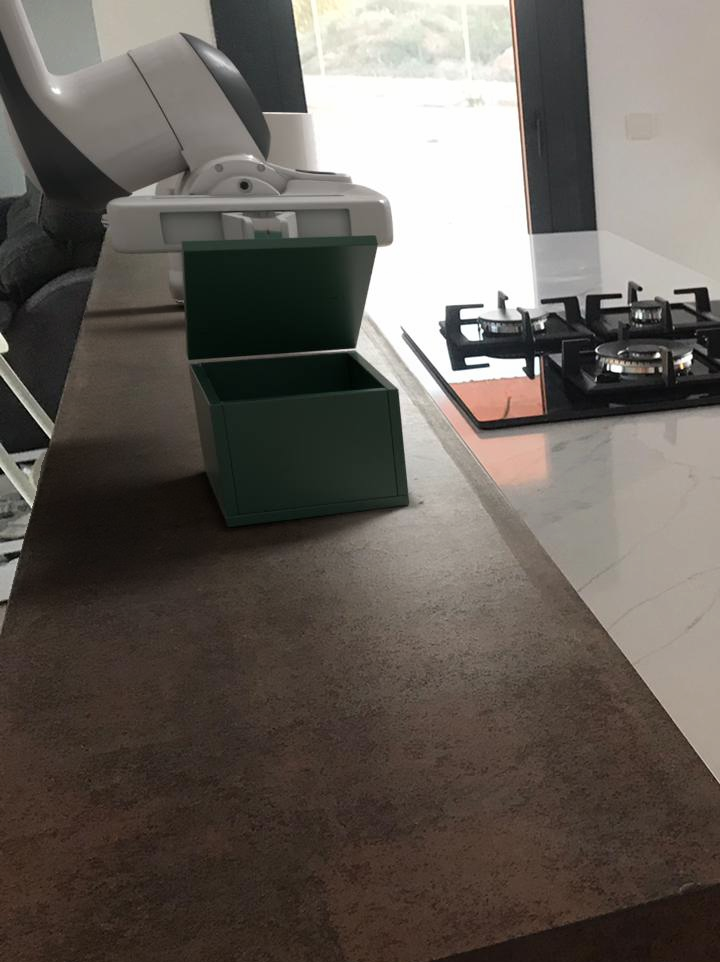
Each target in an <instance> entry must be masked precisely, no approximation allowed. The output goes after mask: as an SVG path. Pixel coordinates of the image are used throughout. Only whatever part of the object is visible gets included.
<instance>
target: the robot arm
mask: <svg viewBox="0 0 720 962" xmlns="http://www.w3.org/2000/svg"><path fill="white" fill-rule="evenodd" d="M26 13H27V12H26V11H25V8H24V5H23V2H22V0H0V101H1V105H2V111H3V114H4V119H5V123H6V128H7V132H8V138H9V140H10V144H11V147H12V149H13V152H14V154H15V157H16V159H17V160H18V163H19V165H20V166H21V168H22V170H23V172H24V174H25V175H26V177H27V178H28V179H29V181H30V182H31V183H32V184H33V185H34V187H36V188H37V190H38V191H39V192H40V193H42V194H43V195H44V196H45V197H46V200H49V201H51V202H53V203H57V204H59V205H62V206H64V207H68V208H71V209H76V210H79V211H84V212H90V213H94V214H95V213H96V214H98V213H100V212H102V211H104V210H106V213H105V214H102V215H101V219H100V222H101V223H102V224H103V227H104V228H106V229H109V233H110V239H111V244H112V248H113V250H114V251H115V252H116V253H119V254H126V255H147V254H149V255H150V254H168V253H182V241H203V240H236V239H268V238H300V237H333V236H365V235H376V237H377V242H378V247H377V248H385V247H389V246H391V245H392V244H393V242H394V223H393V222H394V221H393V214H392V207H391V203H390V200H389V199H388V197H387V196H385V195H383V194H382V193H381V192H378V191H376V190H375V189H372V188H370V187H367V186H365V185H362V184H356V183H353V179H352V176H350V175H349V174H346V173H341V172H340V173H339V172H338V173H337V172H333V171H307V170H300V169H296V170H293V169H288V168H284V167H280V166H277V165H274V164H271V163H269V162H267V159H268V156H269V152H270V144H271V135H270V131H269V128H268V125H267V123H266V120H265V118H264V115H263V113H262V112H263V111H262V108H261V106H260V105H259V103H258V100H257V99H256V97H255V94H254V93H253V92H252V90H251V88H250V87H249V85H248V83H247V81H246V80H245V78H244V77H243V76H242V74H241V72H240V71H239V70H238V68H237V67H236V66H235V64H234V63H233V62H232V61H231V60H230V58H228V57H227V55H226V54H225V53H224V52H222V50H220V49H218V48H216V47H215V46H213V45H212V44H210V43H208V42H206V41H204V40H203V39H201V38H199V37H197V36H195V35H192V34H189V33H186V32H180V31H179V32H178V33H176V34H171V35H168V36H166V37H163V38H161V39H158V40H154V41H152V42H149V43H146V44H144V45H141V46H139V47H137V48H133V49H130V50H128V51H126V53H123V54H121V55H118V56H115V57H112V58H109V59H107V60H104V61H101V62H98V63H96V64H93V65H91V66H87V67H85V68H82V69H79V70H77V71H74V72H70V73H68V74H63V75H61V74H59V75H58V74H53V73H51V72H49V70H48V69H47V66H46V64H45V60H44V59H43V56H42V53H41V50H40V49H39V45H38V42H37V40H36V38H35V35H34V32H33V30H32V27H31V24H30V21H29V19H28V16H27V14H26ZM177 174H179V175H178V178H177V181H176V185H175V192H174V195H155V194H154V195H133V194H134V193H135V192H137V191H140V190H142V189H145V188H147V187H149V186H152V185H154V184H157V183H158V182H159V181H162V180H164V179H167V178H169V177H172V176H174V175H177Z"/></svg>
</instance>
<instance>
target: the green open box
mask: <svg viewBox="0 0 720 962" xmlns="http://www.w3.org/2000/svg"><path fill="white" fill-rule="evenodd" d="M187 365H188V371H189V376H190V382H191V383H190V384H191V389H192V395H193V402H194V409H195V414H196V421H197V427H198V428H197V429H198V433H199V440H200V446H201V452H202V459H203V465H204V471H205V474H206V477H207V479H208V481H209V484H210V486H211V488H212V491H213V494H214V496H215V498H216V501H217V504H218V506H219V509H220V510H221V513H222V516H223V518H224V520H225V523H226V526H227V528H235V527H244V526H250V525H258V524H260V525H261V524H267V523H274V522H275V523H276V522H281V521H282V522H283V521H284V522H285V521H291V520H300V519H307V518H314V517H324V516H331V515H338V514H346V513H348V514H349V513H354V512H356V513H357V512H363V511H371V510H378V509H386V508H395V507H402V506H403V507H404V506H409V505H410V495H409V487H408V486H409V485H408V475H407V473H408V472H407V466H406V453H405V443H404V433H403V421H402V412H401V402H400V401H401V400H400V392H399V391H400V390H399V388H398V387H397V386H395V384H393V383H392V382H391V381H390V380H389V379H388V378H387V377H386V376H385V375H384V374H382V373H381V372H380V371H379V370H378V369H377V368H376V367H374V366H373V365H372V364H371V362H370V361H368V360H367V359H366V358H365V357H364V356H362V355H361V354H360V352H358V351H357V350H356V349H351V350H337V351H323V352H311V353H310V352H308V353H294V354H280V355H266V356H256V357H255V356H251V357H237V358H223V359H214V360H213V359H212V360H211V359H209V360H194V361H188V363H187Z"/></svg>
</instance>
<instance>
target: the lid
mask: <svg viewBox="0 0 720 962" xmlns="http://www.w3.org/2000/svg"><path fill="white" fill-rule="evenodd" d="M378 248H379V247H378V242H377V237H376V235H365V236H333V237H300V238H268V239H236V240H203V241H182V263H183V285H184V305H183V306H184V307H183V308H184V326H185V327H184V329H185V350H186V352H185V353H186V357H187V360H188V361H200V360H211V359H212V360H213V359H228V358H243V357H255V356H256V357H257V356H272V355H286V354H300V353H310V352H311V353H315V352H329V351H343V350H356V349H357V345H358V342H359V341H358V340H359V335H360V331H361V326H362V321H363V317H364V312H365V308H366V304H367V298H368V293H369V290H370V284H371V279H372V274H373V270H374V265H375V261H376V257H377V252H378Z"/></svg>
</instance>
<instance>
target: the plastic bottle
mask: <svg viewBox="0 0 720 962" xmlns="http://www.w3.org/2000/svg"><path fill="white" fill-rule="evenodd" d="M178 175H179V174H177V175H174V176H172V177H169V178H167V179H164V180H162V181H159V182H157V183H156V185H155V189H154V196H155V195H174V192H175V185H176V181H177V178H178ZM167 255H168V267H169V272H168V289H169V292H170V293H169V294H170V296H171V298H172V300H174V299H177V300H184V285H183V263H182V253H167ZM174 302H175V303H176V304H178V305H182V306H184V303H183V302H176V301H175V300H174Z"/></svg>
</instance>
